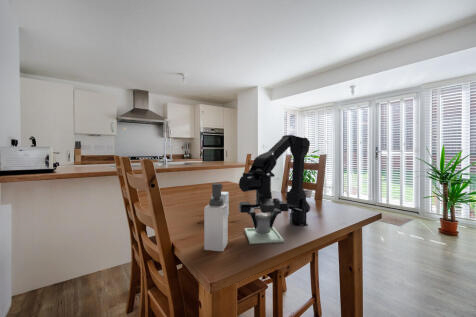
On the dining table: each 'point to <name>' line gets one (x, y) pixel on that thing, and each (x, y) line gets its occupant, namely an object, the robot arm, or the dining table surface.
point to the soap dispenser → (216, 221)
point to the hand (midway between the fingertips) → (263, 228)
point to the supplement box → (224, 198)
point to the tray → (263, 236)
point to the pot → (262, 223)
